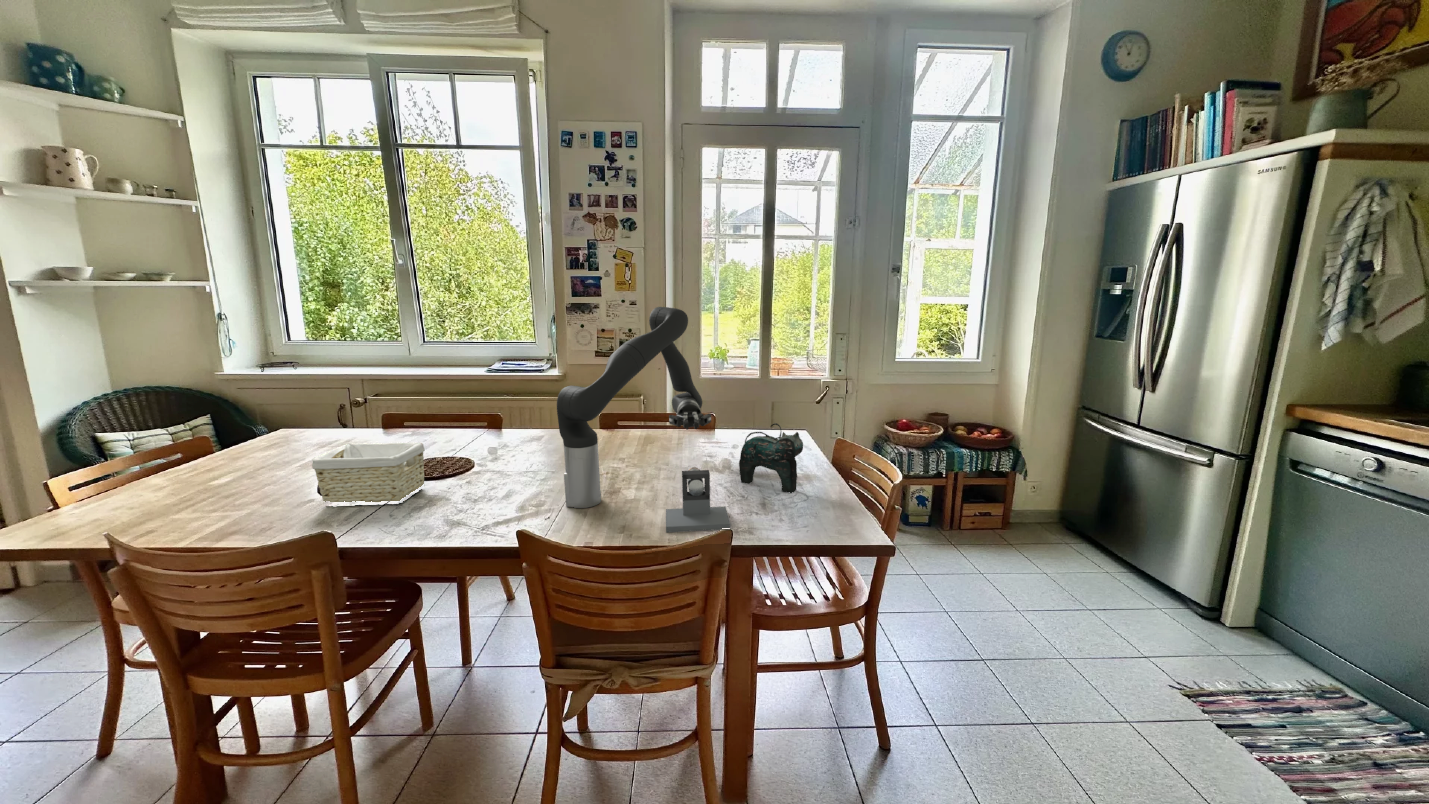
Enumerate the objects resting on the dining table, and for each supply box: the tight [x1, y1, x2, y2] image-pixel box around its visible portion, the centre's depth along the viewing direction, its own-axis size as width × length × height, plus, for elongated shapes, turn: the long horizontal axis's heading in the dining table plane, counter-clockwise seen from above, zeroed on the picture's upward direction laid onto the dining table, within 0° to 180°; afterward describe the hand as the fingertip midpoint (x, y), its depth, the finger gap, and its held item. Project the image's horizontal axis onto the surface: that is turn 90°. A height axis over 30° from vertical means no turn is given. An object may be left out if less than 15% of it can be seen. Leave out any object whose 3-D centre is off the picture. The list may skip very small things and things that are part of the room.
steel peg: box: [687, 466, 705, 496], centre depth 143 cm, size 4×11×4 cm, turn 5°
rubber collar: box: [681, 469, 711, 502], centre depth 140 cm, size 7×3×7 cm, turn 95°
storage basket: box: [311, 441, 425, 502], centre depth 156 cm, size 24×16×15 cm
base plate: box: [665, 499, 731, 533], centre depth 139 cm, size 16×11×6 cm
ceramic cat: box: [738, 422, 804, 494], centre depth 161 cm, size 20×6×20 cm, turn 56°
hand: (691, 426), depth 156 cm, fingers closed
